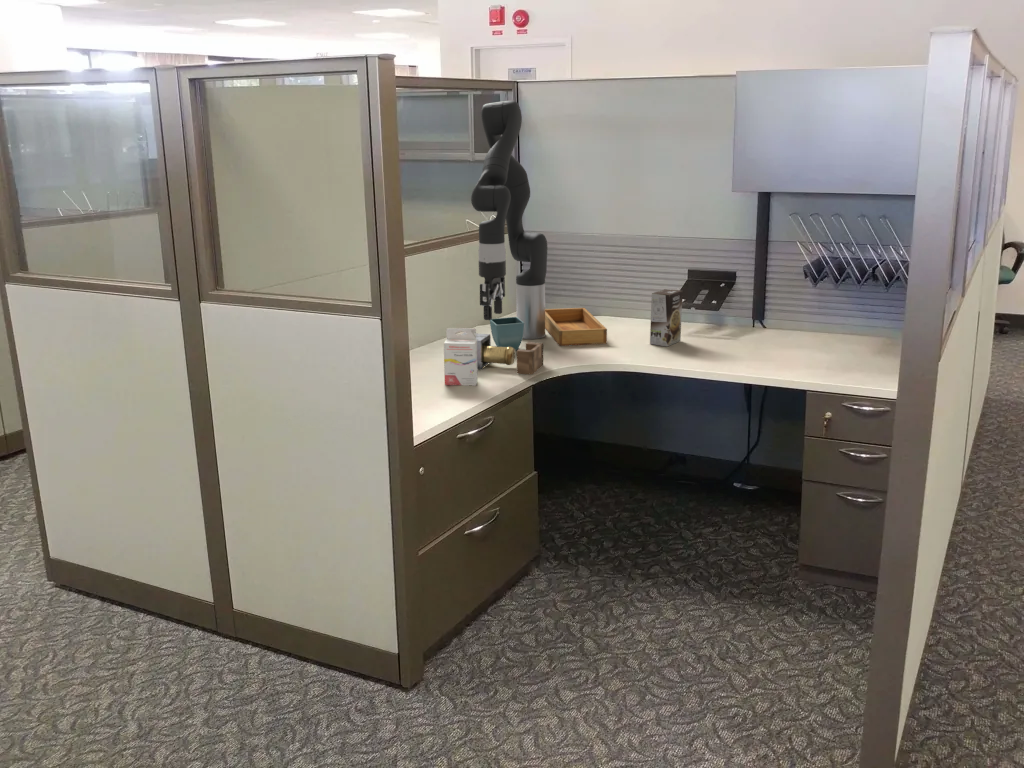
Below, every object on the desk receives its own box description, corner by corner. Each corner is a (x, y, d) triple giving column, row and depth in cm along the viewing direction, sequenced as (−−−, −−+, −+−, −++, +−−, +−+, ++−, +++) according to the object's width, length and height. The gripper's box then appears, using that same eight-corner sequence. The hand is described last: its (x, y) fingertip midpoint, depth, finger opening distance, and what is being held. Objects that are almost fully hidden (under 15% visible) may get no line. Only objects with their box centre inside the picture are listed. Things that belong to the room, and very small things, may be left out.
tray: (606, 345, 285) (607, 327, 283) (559, 347, 283) (559, 329, 281) (584, 323, 314) (584, 307, 313) (541, 325, 312) (541, 309, 310)
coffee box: (667, 347, 280) (669, 295, 275) (649, 344, 284) (650, 292, 279) (681, 341, 287) (683, 290, 282) (663, 338, 290) (664, 288, 286)
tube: (456, 363, 262) (456, 345, 260) (463, 358, 266) (462, 341, 265) (509, 367, 257) (509, 349, 255) (515, 362, 261) (515, 345, 260)
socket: (528, 364, 263) (528, 342, 261) (543, 365, 262) (543, 343, 260) (516, 373, 254) (516, 350, 252) (532, 374, 252) (532, 352, 250)
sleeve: (465, 360, 268) (464, 332, 265) (490, 362, 265) (490, 334, 263) (455, 367, 261) (454, 338, 258) (481, 369, 258) (480, 340, 256)
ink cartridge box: (444, 385, 243) (442, 331, 239) (446, 380, 248) (444, 327, 244) (476, 385, 243) (474, 331, 239) (478, 380, 248) (476, 327, 243)
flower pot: (496, 353, 275) (496, 324, 272) (489, 347, 283) (489, 318, 280) (524, 351, 277) (524, 322, 275) (517, 344, 285) (516, 316, 283)
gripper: (488, 254, 260) (489, 311, 264) (470, 262, 247) (471, 321, 251) (513, 255, 258) (513, 312, 262) (496, 263, 245) (497, 322, 249)
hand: (493, 316), depth 257 cm, fingers open, 8 cm apart
